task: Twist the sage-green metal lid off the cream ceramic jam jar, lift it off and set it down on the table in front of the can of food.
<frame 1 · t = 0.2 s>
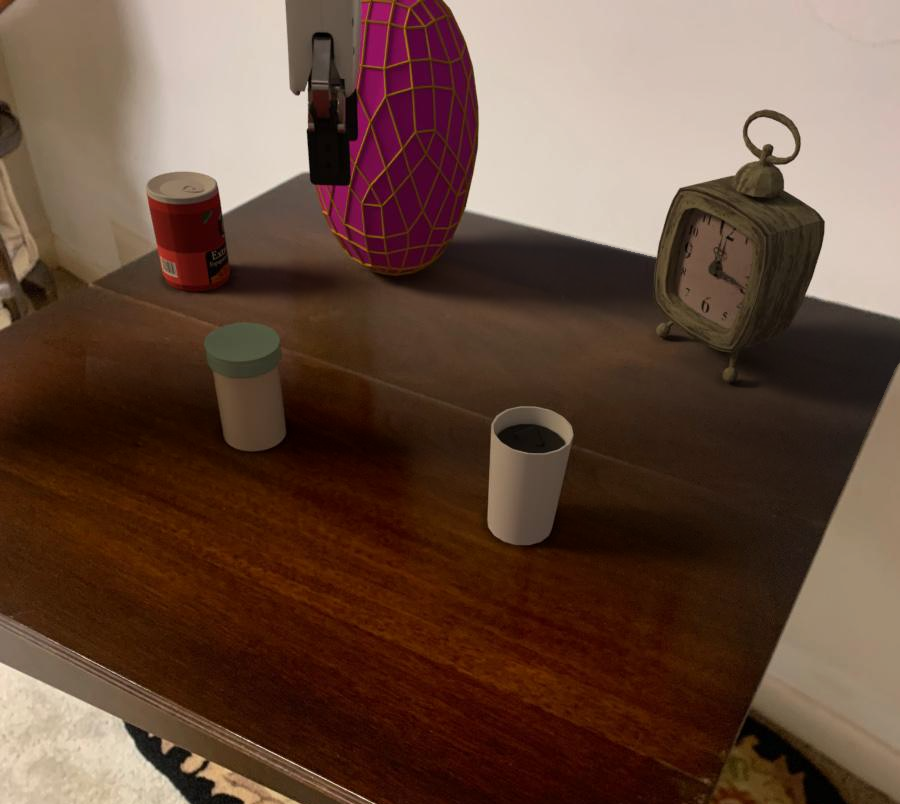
hand: (335, 160, 74), 23 cm above the table, tool pointing down, fingers open, 9 cm apart
canned food: (197, 279, 107), on the table
tabletop clock: (711, 354, 100), on the table
decorative egg: (393, 267, 111), on the table
lid: (242, 345, 79), point 9 cm above the table, screwed on, not yet turned
white cup: (519, 525, 78), on the table
jar: (255, 433, 86), on the table
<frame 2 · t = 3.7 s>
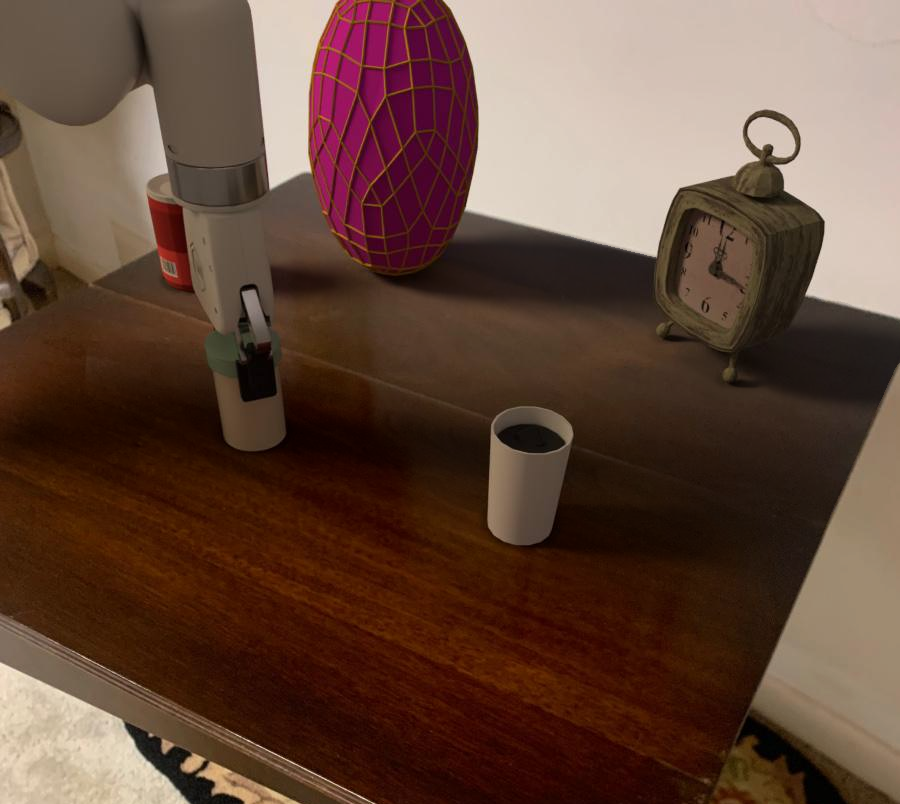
hand: (247, 375, 81), 6 cm above the table, tool pointing down, fingers closed on lid, 6 cm apart
lid: (242, 345, 79), point 9 cm above the table, screwed on, not yet turned, touching gripper
everything else where it was.
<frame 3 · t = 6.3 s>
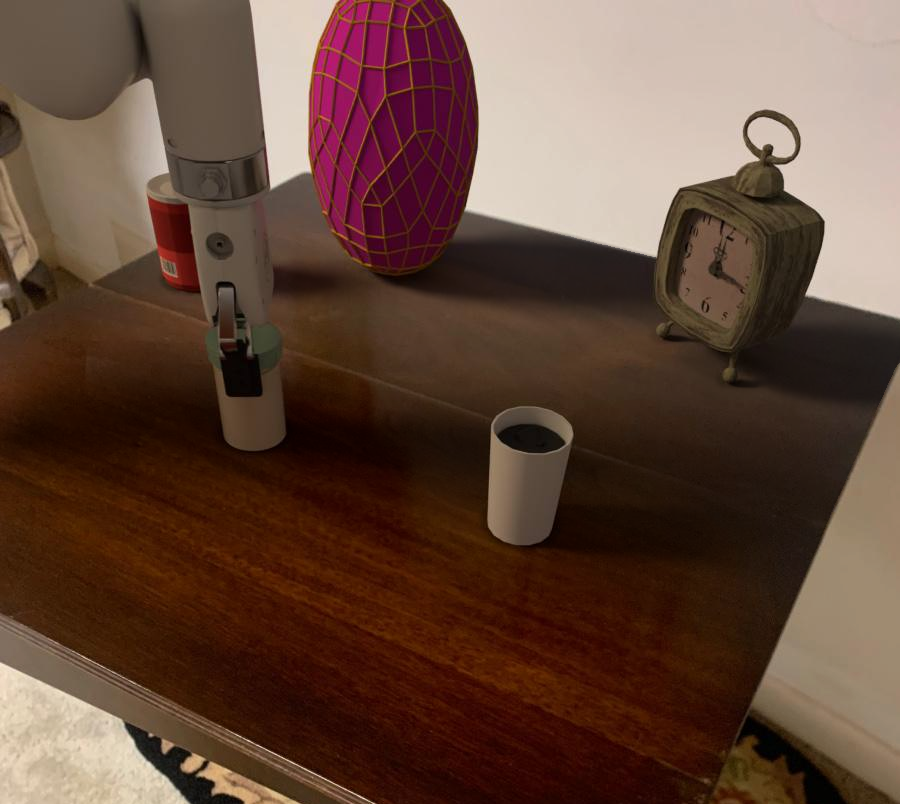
hand: (248, 371, 81), 7 cm above the table, tool pointing down, fingers closed on lid, 6 cm apart
lid: (243, 340, 79), point 10 cm above the table, turned 158° so far, risen 0.4 cm, still on its thread, touching gripper
everything else where it was.
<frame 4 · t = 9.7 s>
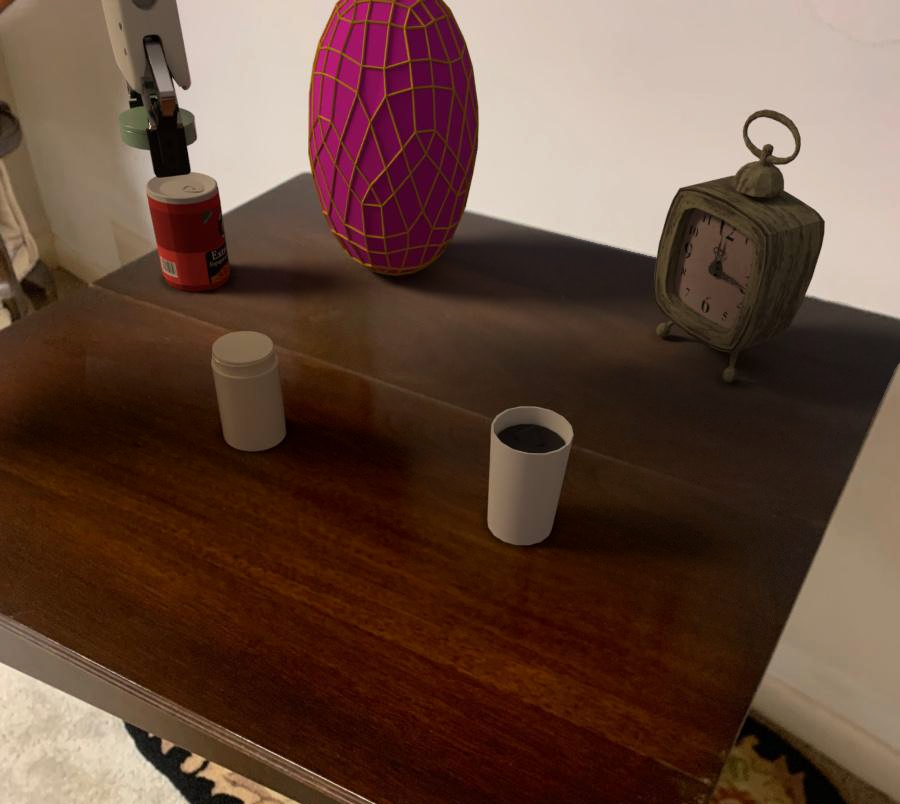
hand: (163, 158, 82), 20 cm above the table, tool pointing down, fingers closed on lid, 6 cm apart
lid: (157, 122, 80), point 23 cm above the table, off its thread, touching gripper
everything else where it was.
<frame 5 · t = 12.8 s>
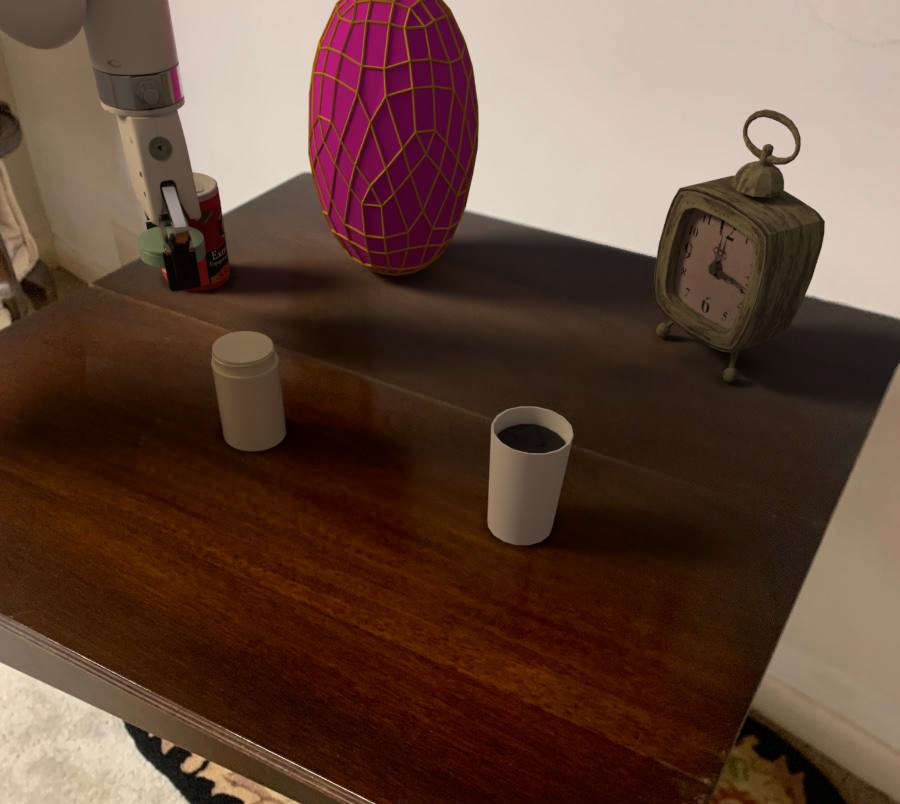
hand: (176, 271, 94), 7 cm above the table, tool pointing down, fingers closed on lid, 6 cm apart
lid: (171, 242, 92), point 10 cm above the table, off its thread, touching gripper
everything else where it was.
when the fingers open (0 cm above the table, at t = 15.5 s): lid drops 2 cm, point 1 cm above the table.
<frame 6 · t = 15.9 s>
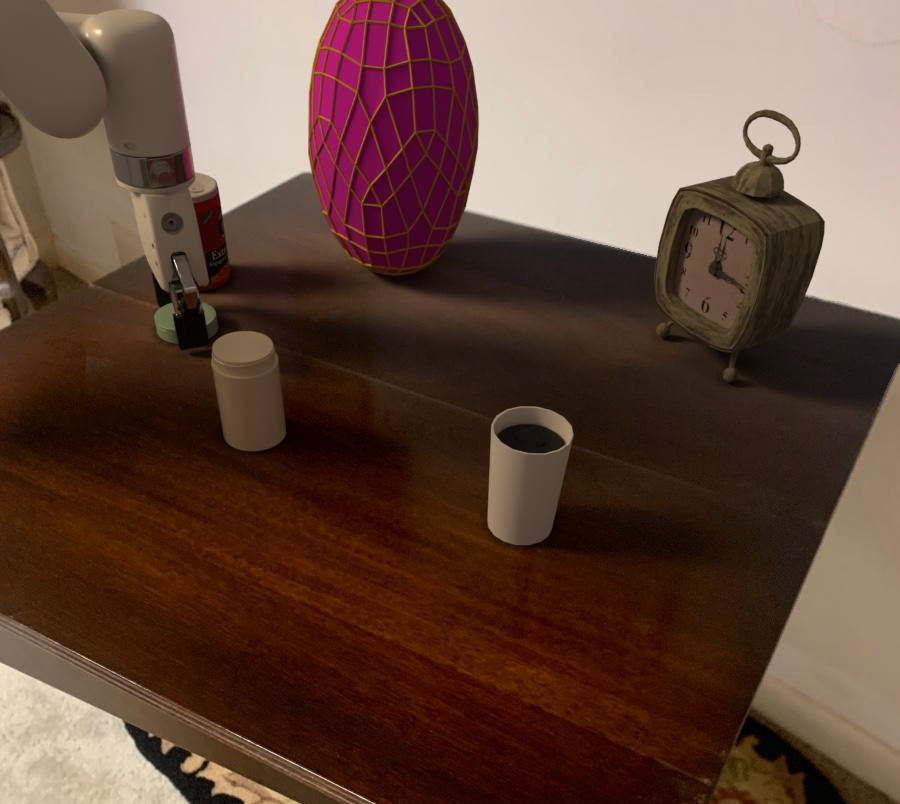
hand: (183, 325, 98), 1 cm above the table, tool pointing down, fingers open, 9 cm apart
lid: (185, 318, 98), point 1 cm above the table, off its thread
everything else where it was.
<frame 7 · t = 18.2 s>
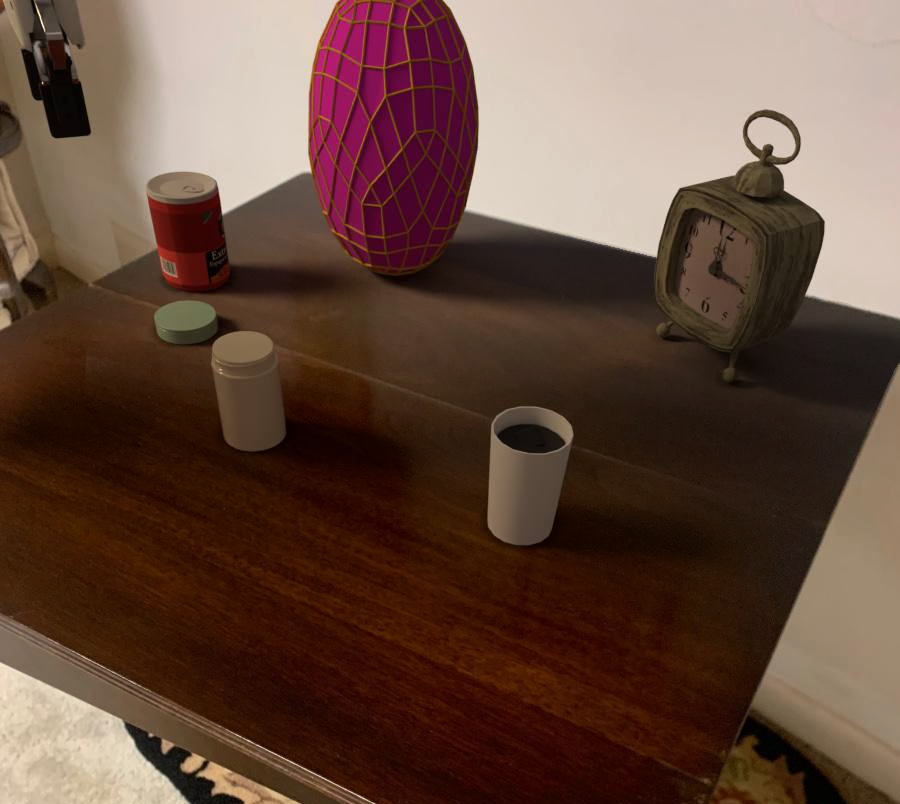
hand: (61, 116, 77), 24 cm above the table, tool pointing down, fingers open, 9 cm apart
nothing on the table moved.
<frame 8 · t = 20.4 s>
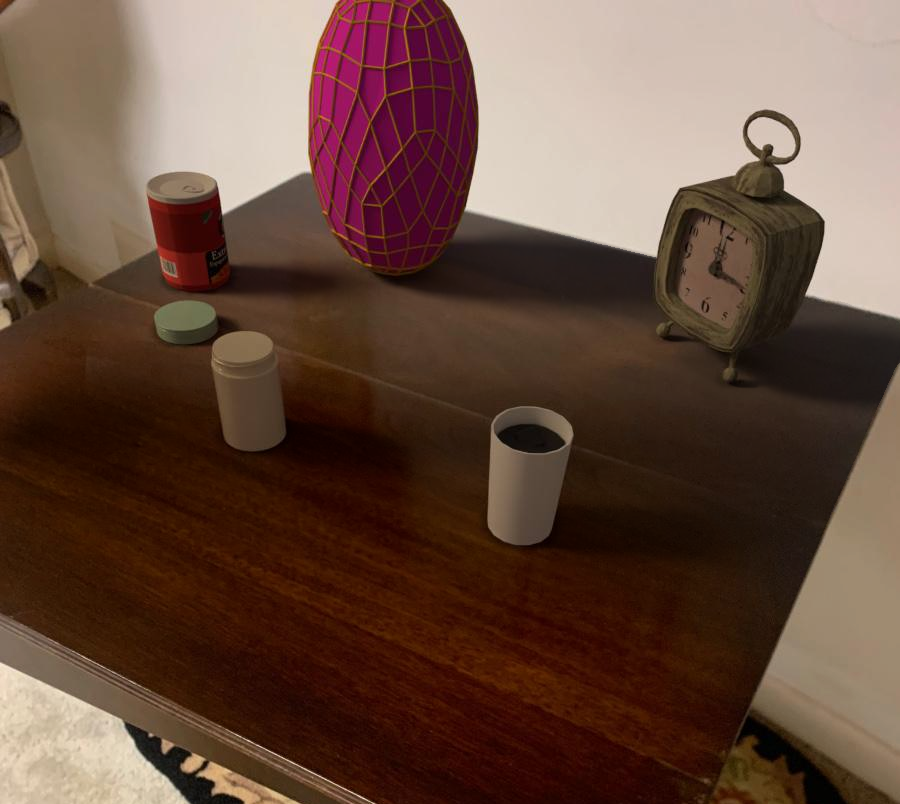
nothing on the table moved.
at the end: lid came off its thread; lid inside the target area on the table beside the canned food (0.2 cm from its centre), point 1.5 cm above the table; the gripper is holding nothing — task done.
